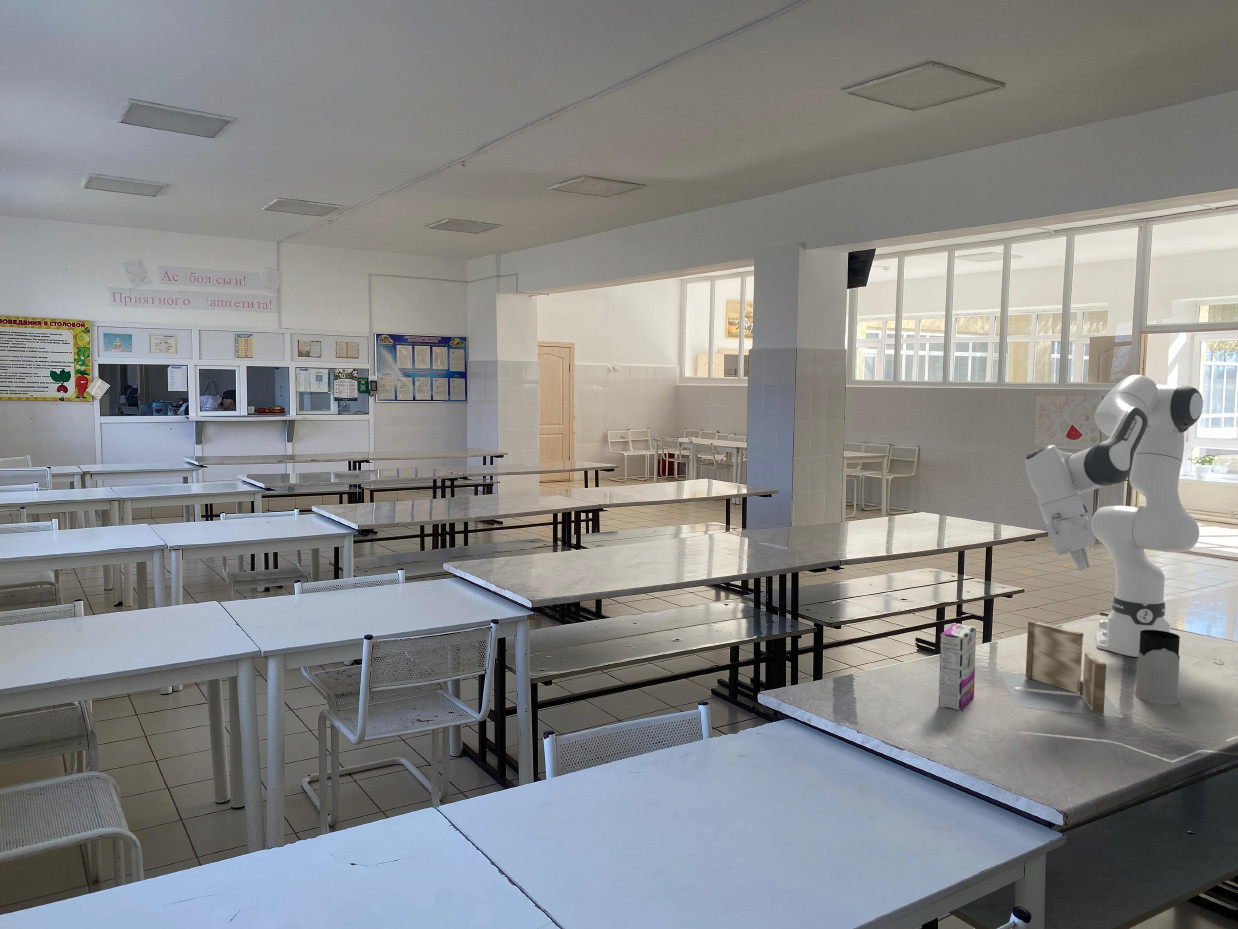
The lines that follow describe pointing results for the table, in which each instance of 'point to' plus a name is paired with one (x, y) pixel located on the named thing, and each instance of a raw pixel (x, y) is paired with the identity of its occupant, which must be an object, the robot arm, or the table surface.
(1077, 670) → the brown wooden panel
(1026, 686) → the card
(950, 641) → the candy bar box
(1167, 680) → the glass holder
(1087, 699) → the bar
